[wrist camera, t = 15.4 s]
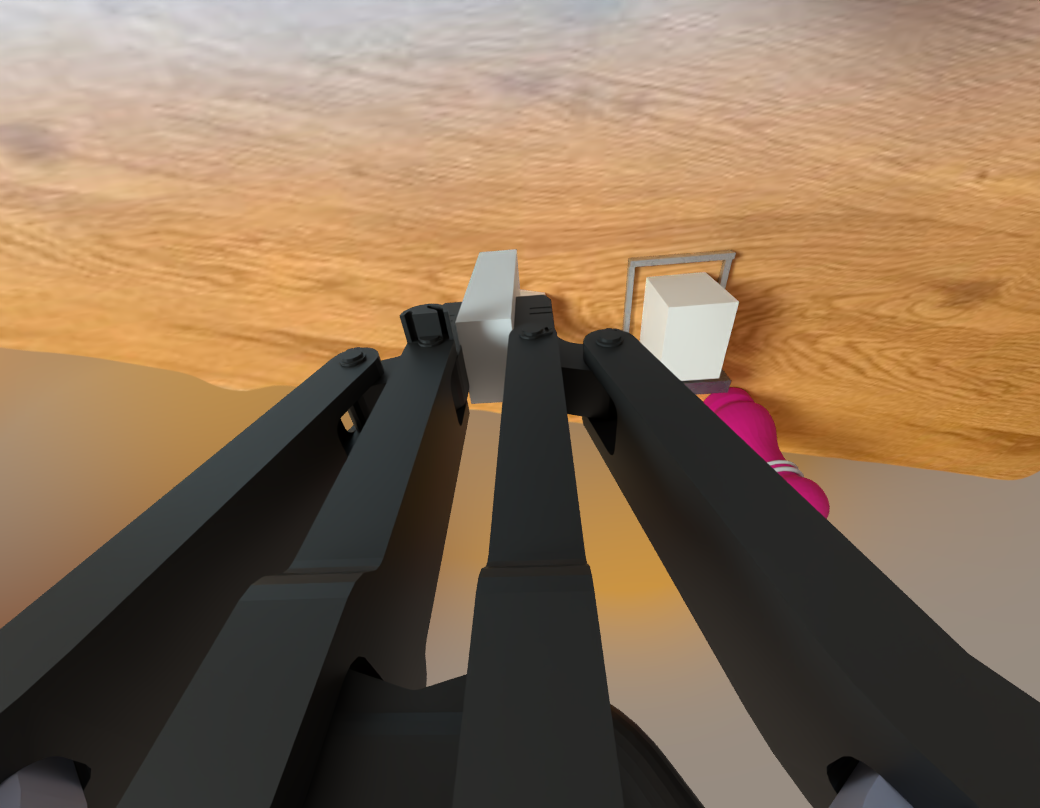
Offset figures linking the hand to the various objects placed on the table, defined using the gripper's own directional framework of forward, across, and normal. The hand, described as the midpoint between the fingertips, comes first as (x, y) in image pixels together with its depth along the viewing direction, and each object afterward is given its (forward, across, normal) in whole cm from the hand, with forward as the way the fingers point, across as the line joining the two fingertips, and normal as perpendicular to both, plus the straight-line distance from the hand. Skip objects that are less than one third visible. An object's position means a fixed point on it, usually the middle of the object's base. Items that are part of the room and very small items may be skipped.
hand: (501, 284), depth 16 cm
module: (+25, +16, -13) cm, 32 cm away
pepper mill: (+25, +25, -27) cm, 44 cm away
